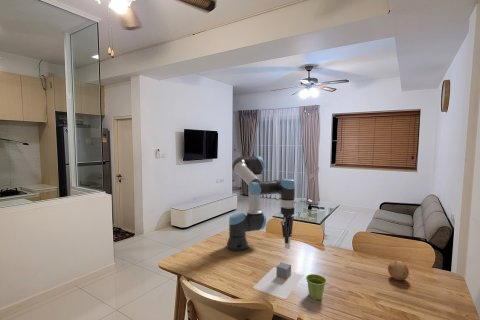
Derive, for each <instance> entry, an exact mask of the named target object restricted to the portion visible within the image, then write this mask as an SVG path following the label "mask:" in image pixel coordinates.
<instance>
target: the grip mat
mask: <svg viewBox="0 0 480 320" xmlns="http://www.w3.org/2000/svg"><path fill="white" fill-rule="evenodd" d="M276 273H277V266H273V268H271V269H270V270H269V271H268V272H267V273H266V274H265V275H264V276H263V277H262V278H261V279H260V280H259V281H257V283H256V284H255V285H254V286H253V287H252V288H253V289H255V290H258V291H261V292H263V293H266V294H268V295H271V296H274V297H277V298H279V299H281V300H287V298H288V297H289V296H290V294H291V293H292V292H293V291H294V289H295V288H296V286H297V285H298V284H299V282H300V281H301V280H302V278H303V277H304V274H300V273H297V272H295V271H291V276H290V277H289V278H288V280H284V279H281V278H277V277H276Z"/></svg>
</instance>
